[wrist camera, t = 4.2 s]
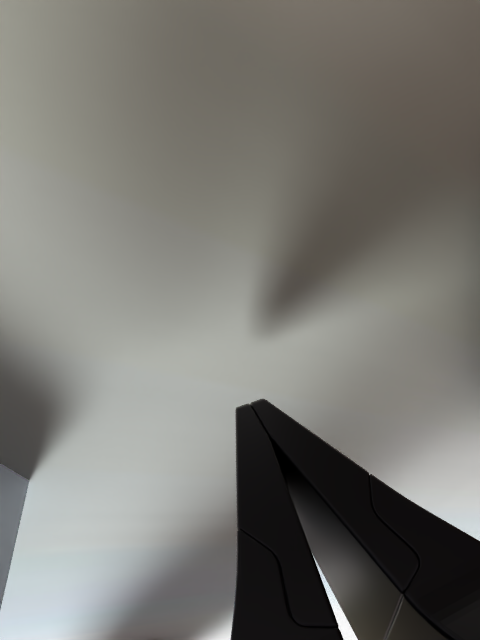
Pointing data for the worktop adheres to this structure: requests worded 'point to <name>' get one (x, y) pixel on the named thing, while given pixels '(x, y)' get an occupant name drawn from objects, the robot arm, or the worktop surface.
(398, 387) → the worktop surface
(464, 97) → the worktop surface
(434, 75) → the worktop surface
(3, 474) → the boxed book
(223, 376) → the worktop surface
